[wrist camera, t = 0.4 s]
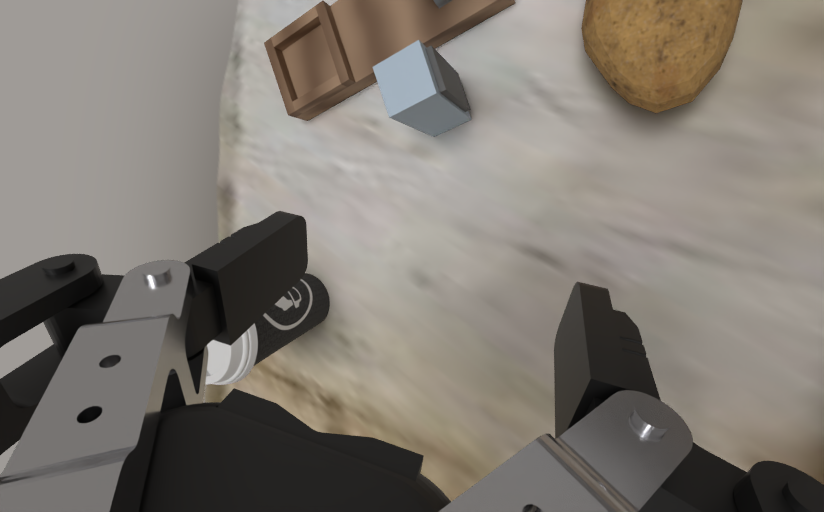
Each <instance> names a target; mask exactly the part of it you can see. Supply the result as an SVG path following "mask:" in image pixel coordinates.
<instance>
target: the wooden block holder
mask: <svg viewBox="0 0 824 512" xmlns="http://www.w3.org/2000/svg"><path fill="white" fill-rule="evenodd" d="M514 3H515V0H338V1H337V2H335V3H334V4H332V5H331V6H329V5H328V4H327V3H325V2H324V1H322V2H320V3H319V4H317V5H316V6H315V7H313V8H312V9H310V10H309V11H308V12H306V13H305V14H304V15H302V16H301V17H299V18H298V19H297V20H295V21H294V22H292V23H291V24H290V25H288V26H287V27H285V28H284V29H283V30H281V31H280V32H278V33H277V34H276V35H274V36H273V37H272V38H270V39H269V40H267V41H266V42H265V43H264V44H265V47H266V50H267V53H268V56H269V59H270V62H271V65H272V68H273V71H274V74H275V77H276V80H277V83H278V86H279V89H280V92H281V95H282V98H283V101H284V104H285V107H286V110H287V113H288V115H289V116H293V117H296V118H299V119H303V120H306V121H308V120H310V119H312V118H313V117H315V116H317V115H319V114H320V113H322V112H324V111H326V110H327V109H329V108H331V107H333V106H335V105H336V104H338V103H340V102H342V101H343V100H345V99H347V98H349V97H350V96H352V95H354V94H356V93H357V92H359V91H361V90H363V89H364V88H366V87H368V86H370V85H372V84H373V83H375V82H377V79H376V76H375V73H374V70H373V66H375V65H377V64H378V63H380V62H382V61H384V60H385V59H387V58H389V57H390V56H392V55H394V54H395V53H397V52H399V51H401V50H402V49H404V48H406V47H407V46H409V45H411V44H412V43H414V42H416V41H417V40H420V41H421V42H422V43H423V44H424V45H425V46H426V47H429V46H432V47H433V48H434V49H435V48H437V47H438V46H440V45H442V44H444V43H446V42H447V41H449V40H451V39H453V38H454V37H456V36H458V35H460V34H461V33H463V32H465V31H467V30H468V29H470V28H472V27H474V26H475V25H477V24H479V23H481V22H483V21H484V20H486V19H488V18H490V17H491V16H493V15H495V14H497V13H498V12H500V11H502V10H504V9H505V8H507V7H509V6H511V5H512V4H514Z"/></svg>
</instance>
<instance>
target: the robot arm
mask: <svg viewBox="0 0 824 512" xmlns="http://www.w3.org/2000/svg"><path fill="white" fill-rule="evenodd" d="M307 264H308V254H307V230H306V221H305V219H304V217H302V216H299V215H295V214H290V213H286V212H282V211H278V212H276V213H274V214H272V215H271V216H269V217H267V218H266V219H264V220H263V221H261V222H259V223H256V224H253V225H250V226H247V227H243V228H242V229H240V230H238V231H237V232H235V233H233V234H232V235H231V237H227V238H225V239H223V240H222V241H220V243H217V244H215V245H214V246H212V247H210V248H208V249H207V250H205V251H204V252H202V253H200V254H198V255H197V256H195V257H193V258H192V259H190V260H188V261H187V262H185V263H183V262H180V261H175V260H161V261H154V262H149V263H145V264H143V265H140V266H138V267H135V268H134V269H132V270H130V271H129V272H128V273H127V274H126V275H125V276H120V275H103V274H101V271H100V269H99V266H98V263H97V260H96V259H95V258H94V257H92V256H89V255H85V254H67V255H60V256H55V257H51V258H48V259H45V260H42V261H39V262H37V263H35V264H33V265H30V266H28V267H26V268H24V269H22V270H19V271H17V272H15V273H13V274H11V275H9V276H6V277H5V278H2V279H0V348H1V347H2V346H3V345H4V344H6V343H8V342H9V341H11V340H13V339H15V338H16V337H18V336H19V335H21V334H23V333H25V332H27V331H28V330H30V329H32V328H33V327H35V326H37V325H38V324H40V323H42V322H44V324H45V327H46V328H47V330H48V333H49V335H50V337H51V339H52V341H53V343H54V344H53V345H52V346H50V347H49V348H47V349H46V350H44V351H43V352H41V353H40V354H38V355H36V356H35V357H33V358H32V359H30V360H29V361H27V362H26V363H24V364H23V365H21V366H20V367H18V368H16V369H15V370H13V371H12V372H10V373H9V374H7V375H6V376H4V377H3V378H1V379H0V455H1V454H2V453H3V452H5V451H6V450H7V449H8V448H10V447H11V446H12V445H14V444H15V443H16V442H17V441H19V440H20V441H19V442H18V444H17V446H16V449H15V450H14V452H13V454H12V456H11V458H10V459H9V461H8V463H7V465H6V467H5V469H4V471H3V472H2V473H1V474H0V512H824V485H823V484H821V483H820V482H818V481H817V480H815V479H814V478H812V477H811V476H809V475H807V474H806V473H804V472H802V471H800V470H798V469H796V468H793V467H791V466H788V465H786V464H782V463H779V462H774V461H762V462H758V463H756V464H755V465H754V466H753V467H752V468H751V469H750V470H749V471H748V472H745V471H743V470H742V469H740V468H738V467H736V466H734V465H732V464H730V463H728V462H727V461H725V460H723V459H721V458H719V457H717V456H715V455H713V454H711V453H710V452H708V451H706V450H704V449H703V448H701V447H699V446H698V445H696V444H695V443H693V438H692V435H691V432H690V430H689V428H688V426H687V425H686V423H685V422H684V420H683V419H682V418H681V417H680V416H679V415H678V414H677V413H676V412H675V411H674V410H673V409H672V408H670V407H669V406H668V405H666V404H665V403H663V402H662V401H661V400H660V397H659V394H658V391H657V387H656V384H655V381H654V378H653V374H652V371H651V368H650V365H649V362H648V358H646V352H645V349H644V345H642V339H641V336H640V333H639V329H638V327H637V326H636V325H635V323H634V322H633V321H632V320H631V319H630V318H629V316H628V315H627V314H626V313H625V312H621V311H617V310H613V308H612V304H611V300H610V296H609V291H608V289H606V288H602V287H597V286H593V285H589V284H585V283H580V282H577V283H576V284H575V286H574V288H573V290H572V293H571V295H570V298H569V301H568V303H567V306H566V309H565V311H564V314H563V317H562V319H561V322H560V325H559V328H558V331H557V335H556V339H555V346H554V370H555V439H554V438H553V437H552V436H551V435H550V434H544V435H542V436H540V437H538V438H537V439H535V440H534V441H533V442H531V443H530V444H529V445H527V446H526V447H525V448H523V449H522V450H521V451H519V452H518V453H517V454H515V455H514V456H512V457H511V458H510V459H508V460H507V461H506V462H504V463H503V464H502V465H500V466H499V467H498V468H496V469H495V470H494V471H492V472H491V473H490V474H488V475H487V476H486V477H484V478H483V479H482V480H480V481H479V482H478V483H476V484H475V485H474V486H472V487H471V488H470V489H468V490H467V491H465V492H464V493H463V494H461V495H460V496H459V497H457V498H456V499H455V500H453V501H452V502H451V501H450V500H449V499H448V497H447V496H446V495H445V494H444V493H443V492H442V491H441V490H440V489H439V488H438V487H437V486H436V485H435V484H434V483H432V482H431V481H430V480H429V479H427V478H426V477H425V476H423V475H422V474H420V472H421V467H422V462H423V455H420V454H417V453H415V452H412V451H409V450H406V449H403V448H400V447H398V446H395V445H392V444H389V443H386V442H384V441H381V440H378V439H375V438H371V437H361V436H350V435H340V434H330V433H321V432H317V431H315V430H313V429H311V428H310V427H308V426H307V425H306V424H304V423H303V422H302V421H300V420H299V419H297V418H296V417H295V416H293V415H292V414H290V413H289V412H288V411H286V410H285V409H284V408H282V407H281V406H279V405H278V404H276V403H274V402H271V401H268V400H265V399H262V398H259V397H257V396H254V395H251V394H248V393H245V392H243V391H240V390H237V389H233V390H232V391H231V392H230V393H229V394H228V396H227V397H226V398H225V399H224V400H223V401H222V402H221V403H219V402H216V403H203V401H204V391H205V382H206V373H207V364H208V355H209V354H208V348H207V344H209V343H210V342H211V341H212V340H215V341H218V342H221V343H224V344H227V345H230V346H231V345H232V344H233V343H234V342H235V341H236V340H237V339H238V338H239V337H241V336H242V335H243V334H244V333H245V332H246V331H247V330H248V329H249V328H250V327H251V326H252V325H253V324H254V323H255V322H256V321H257V320H259V319H260V318H261V317H262V316H263V315H264V314H265V313H266V312H267V311H268V310H269V309H270V308H271V307H272V306H273V305H274V304H275V303H277V302H278V301H279V300H280V299H281V298H282V297H283V296H284V295H285V294H286V293H287V292H288V291H289V290H290V289H291V288H292V287H293V286H295V285H296V284H297V283H298V282H299V281H300V280H301V279H302V277H303V276H304V274H305V272H306V269H307Z"/></svg>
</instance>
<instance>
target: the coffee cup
mask: <svg viewBox="0 0 824 512" xmlns="http://www.w3.org/2000/svg"><path fill="white" fill-rule="evenodd" d="M328 310H329V296H328V293H327V290H326V288H325V286H324V285H323V284H322V282H321V281H320V280H319V279H318V278H316V277H315V276H313V275H310V274H304V276H303V277H302V279H301V280H300V281H299V282H298V283H297V284H296V285H295V286H293V287H292V288H291V289H290V290H289V291H288V292H287V293H286V294H285V295H284V296H283V297H282V298H281V299H280V300H279V301H278V302H277V303H275V304H274V305H273V306H272V307H271V308H270V309H269V310H268V311H267V312H266V313H265V314H264V315H263V316H262V317H261V318H260V319H259V320H257V321H256V322H255V323H254V324H253V325H252V326H251V327H250V328H249V329H248V330H247V331H246V332H245V333H244V334H243V335H242V336H241V337H239V338H238V339H237V340H236V341H235V342H234V343H233V344H232V345H231V346H230V345H227V344H224V343H221V342H218V341H215V340H212V341H211V342H210V343H209V344H207V348H208V354H209V355H208V364H207V373H206V382H205V384H216V385H225V384H231V383H235V382H238V381H240V380H242V379H243V378H245V377H246V376H247V375H248V374H249V372H250V371H251V369H252V368H253V366H254V365H256V364H257V363H259V362H260V361H262V360H263V359H265V358H266V357H268V356H270V355H271V354H273V353H274V352H276V351H277V350H279V349H280V348H282V347H283V346H285V345H287V344H288V343H290V342H291V341H293V340H294V339H296V338H297V337H299V336H301V335H302V334H304V333H305V332H307V331H308V330H310V329H312V328H313V327H315V326H316V325H318V324H319V323H321V322H322V321H323V320H324V319H325V317H326V316H327V313H328Z"/></svg>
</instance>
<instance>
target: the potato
mask: <svg viewBox="0 0 824 512" xmlns="http://www.w3.org/2000/svg"><path fill="white" fill-rule="evenodd" d="M742 1H743V0H586V4H585V10H584V16H583V22H582V34H583V40H584V46H585V51H586V53H587V54H588V56H589V57H590V58H591V60H592V61H593V63H594V64H595V65H596V67H597V68H598V69H599V71H600V72H601V74H602V75H603V76H604V78H605V79H606V80H607V82H608V83H609V85H610V86H611V87H612V88H613V89H614V90H615V91H616V92H617V93H618V94H619V95H621V96H622V97H623V98H624V99H625V100H626V101H627V102H628V103H630V104H632V105H635V106H638V107H641V108H643V109H646V110H649V111H652V112H654V113H658V112H661V111H664V110H667V109H670V108H673V107H677V106H680V105H683V104H686V103H689V102H692V101H693V100H694V99H695V98H696V96H697V95H698V94H699V93H700V92H701V91H702V89H703V88H704V87H705V86H706V85H707V83H708V82H709V81H710V80H711V79H712V78H713V76H714V75H715V74H716V73H717V72H718V70H719V69H720V67H721V65H722V63H723V60H724V58H725V56H726V53H727V51H728V49H729V47H730V44H731V42H732V40H733V36H734V33H735V29H736V25H737V21H738V17H739V13H740V9H741V5H742Z"/></svg>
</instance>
